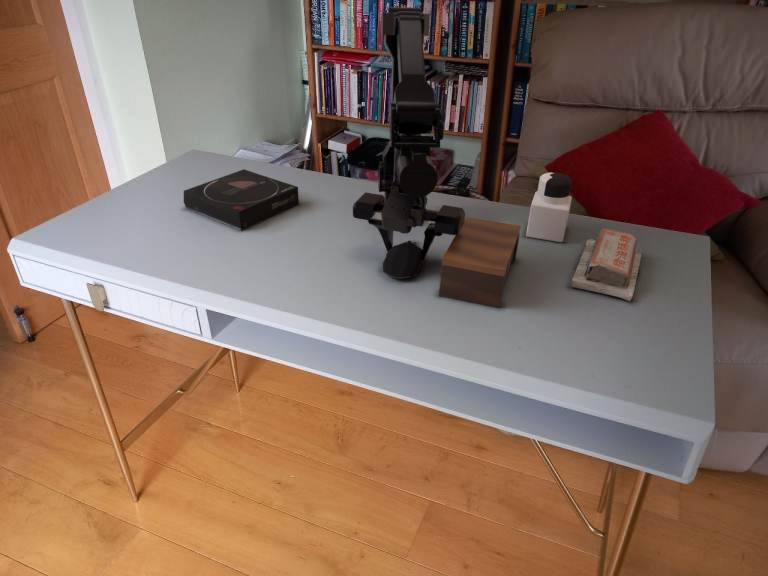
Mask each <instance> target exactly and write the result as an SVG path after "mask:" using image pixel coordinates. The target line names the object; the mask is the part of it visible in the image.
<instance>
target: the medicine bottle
mask: <svg viewBox="0 0 768 576" xmlns="http://www.w3.org/2000/svg"><path fill="white" fill-rule="evenodd" d="M572 184H573V180H572V178H571V177H570V176H568V175H566V174H564V173H561V172H554V171H551V172H546V173H543V174H542V175H540V176H539V181H538V186H537V190H536V191H535V192H534V195H533V198H532V201H531V204H530V209H529V215H528V221H527V227H526V233H525V236H526V238H531V239H536V240H537V239H538V240H543V241H549V242H556V243H563V242H564V239H565V234H566V230H567V224H568V220H569V216H570V211H571V205H572V200H573V197H572V196H571V195H570V194H571V189H572V186H573V185H572Z"/></svg>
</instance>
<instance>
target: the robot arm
mask: <svg viewBox="0 0 768 576" xmlns="http://www.w3.org/2000/svg"><path fill="white" fill-rule="evenodd" d="M422 9H423V8H422V7H409V6H407V7H405V6H404V7H403V6H398V7H397V6H388V7H387V12H382V13H381V14H380V35H381V36H383V45H384V47H385V50H386V51H387V53H388V55H389V56H390V58H391V94H390V95H391V97H390V98H391V99H390V103H389V113H388V117H389V118H388V121H389V122H388V123H389V141H388V143H387V144H386V146H385V148H384V150H383V151H382V159H381V160H382V161H379V162H378V171H377V188H378V193H383V192H384V193H383V194H384V195H383V194H378V193H373V192H364V193H363V194H362V195H361V196H359V198H358V199H357V200H356V201H355V202H353V205H352V217H353V218H354V219H359V220H364V221H367V222H368V224H369V225H372V226H374V227H375V228H376V229H377V231H378V232H379V234H380V236H381V239H382V241H383V245H384V247H385V250H386V253H387V252H388V251H389V250H390V249H391V248H392V247H394V246H393V245H394V232H397V233H400V234H408V233H410V232H411V231H412V228H416V227H423V226H424V224H425V222H427V225H428V226H427V227H426V228H425V230H424V232H423V234H424V239H423V245H422V262H424V261H425V260H426V258H427V255H428V253H429V251H430V249H431V247H432V244H433V242H434V240H435V238H436V237H442V236H443V234H445V235H450V236H455V235H458V233H459V231H460V229H461V228H462V226H463V224H464V221H465V217H466V212H465V210H464V208H463V207H460V206H459V207H458V206H452V205H446V204H443V205H442V206H441V207H440V209H439V210H437V209H436V210H432V209H427V205H428V198H427V196H428V195H430V194H431V193H432V192H433V191H434V190H435V188H436V187H437V184H438V178H439V177H438V174H437V170H436V167H435V164H434V162H433V159H432V156H431V148H432V149H434V148H435V149H440V148H441V141H443V140H444V121H443V119H444V118H443V111H442V110H441V105H440V104H439V103H436V94H435V89H434V87H433V86H431V84H430V83H429V82H428V81H427V80H426V68H425V67H426V66H425V54H424V53H425V52H424V51H425V50H424V44H425V37H429V35H430V16H431V14H430V13H424V12H423V11H422ZM432 132H433V135H431V133H432Z"/></svg>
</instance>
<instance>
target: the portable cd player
mask: <svg viewBox="0 0 768 576" xmlns="http://www.w3.org/2000/svg"><path fill="white" fill-rule="evenodd" d="M299 199H300V198H299V186H296V185H293V184H290V183H287V182H283V181H281V180H278V179H275V178H272V177H269V176H266V175H263V174H260V173H257V172H254V171H252V170H251V171H250V170H248V169H244V168H243V169H241V170H238V171H234V172H231V173H229V174H227V175H224V176H221V177H218V178H215V179H212V180H210V181H207V182H204V183H201V184H199V185H196V186H193V187H190V188H187V189H185V190H183V204H184V206H185V208H186V210H189V211H191V212H194V213H196V214H199V215H201V216H203V217H206V218H208V219H211V220H213V221H216V222H218V223H221V224H222V225H226V226H229V227H231V228H233V229H236V230H239V231H243V230H245V229H248V228H250V227H252V226H254V225H257V224H259V223H261V222H263V221H266V220H268V219H270V218H272V217H274V216H275V217H276V215H280V214H281V213H283V212H285V211H288V210H290V209H292V208H294V207H297V206H299V205H300V200H299Z"/></svg>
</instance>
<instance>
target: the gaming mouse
mask: <svg viewBox="0 0 768 576" xmlns="http://www.w3.org/2000/svg"><path fill="white" fill-rule="evenodd" d="M422 249H423V247H422V248H421V247H420V246H418V245H416V241H414V242H412V240H407V241H405V242H402V243H399V244H396V245H394V246H393V247H392V248H391V249H390V250H389V251H388V252H387V251H386V254H385V257H384V260H383V262H382V273H384V274H385V275H387V276H388V277H390V278H392V279H393V278H394V279H398V280H403V279H410V278H415V277H416V276H417V275H419V273H420V271H421V267H422V264H423V261H422Z"/></svg>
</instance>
